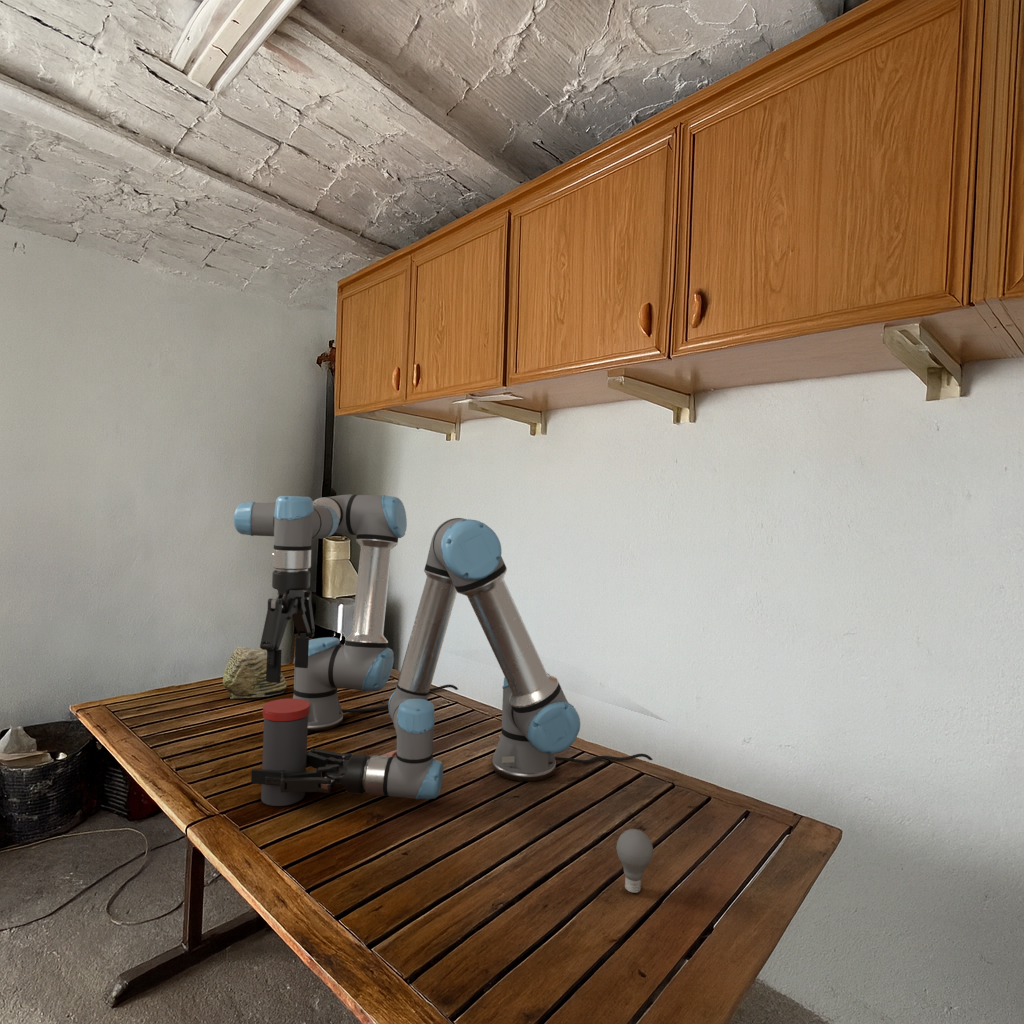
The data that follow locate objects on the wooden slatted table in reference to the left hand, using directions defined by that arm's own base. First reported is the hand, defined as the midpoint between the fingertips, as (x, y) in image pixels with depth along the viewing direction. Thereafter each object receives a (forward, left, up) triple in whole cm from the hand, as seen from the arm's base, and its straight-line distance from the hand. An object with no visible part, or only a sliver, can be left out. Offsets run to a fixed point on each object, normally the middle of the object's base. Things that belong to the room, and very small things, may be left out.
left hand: (287, 674), depth 133 cm
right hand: (+3, -4, -20) cm, 20 cm away
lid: (0, 0, -7) cm, 7 cm away
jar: (0, 0, -26) cm, 26 cm away
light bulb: (-21, +71, -26) cm, 78 cm away
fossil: (-30, -66, -26) cm, 77 cm away
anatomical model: (-23, +5, -26) cm, 35 cm away
